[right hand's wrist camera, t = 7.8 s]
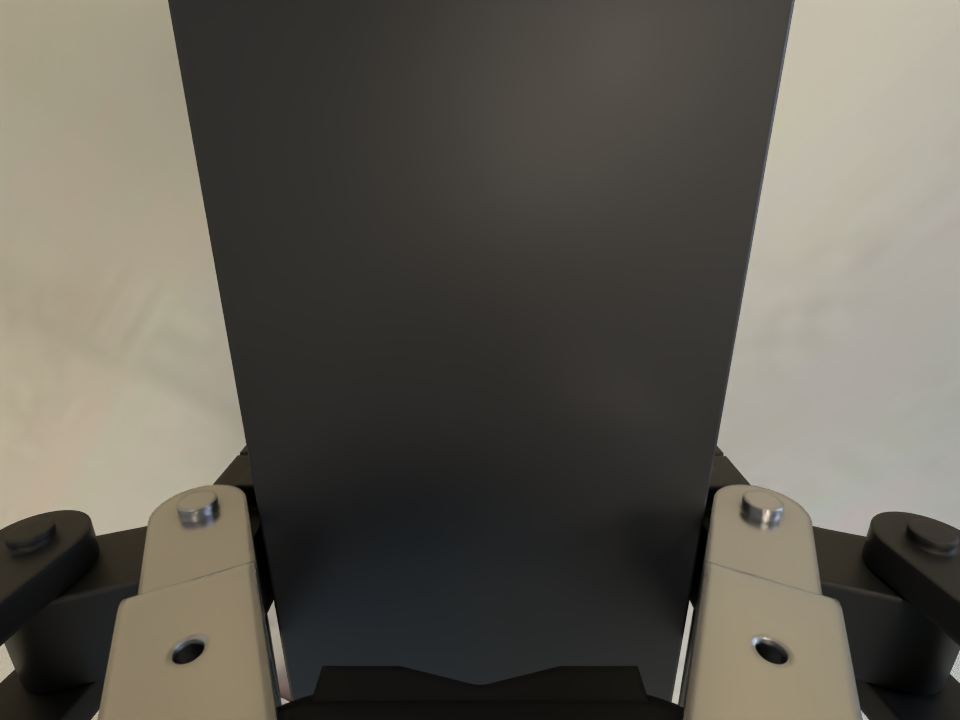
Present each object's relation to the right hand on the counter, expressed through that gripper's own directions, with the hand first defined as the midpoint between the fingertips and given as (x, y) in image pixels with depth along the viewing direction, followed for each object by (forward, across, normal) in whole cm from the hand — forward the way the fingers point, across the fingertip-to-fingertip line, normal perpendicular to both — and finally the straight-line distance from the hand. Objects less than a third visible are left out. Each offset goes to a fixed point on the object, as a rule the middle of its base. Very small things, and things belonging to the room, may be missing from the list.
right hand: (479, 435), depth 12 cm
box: (+8, 0, -7) cm, 11 cm away
